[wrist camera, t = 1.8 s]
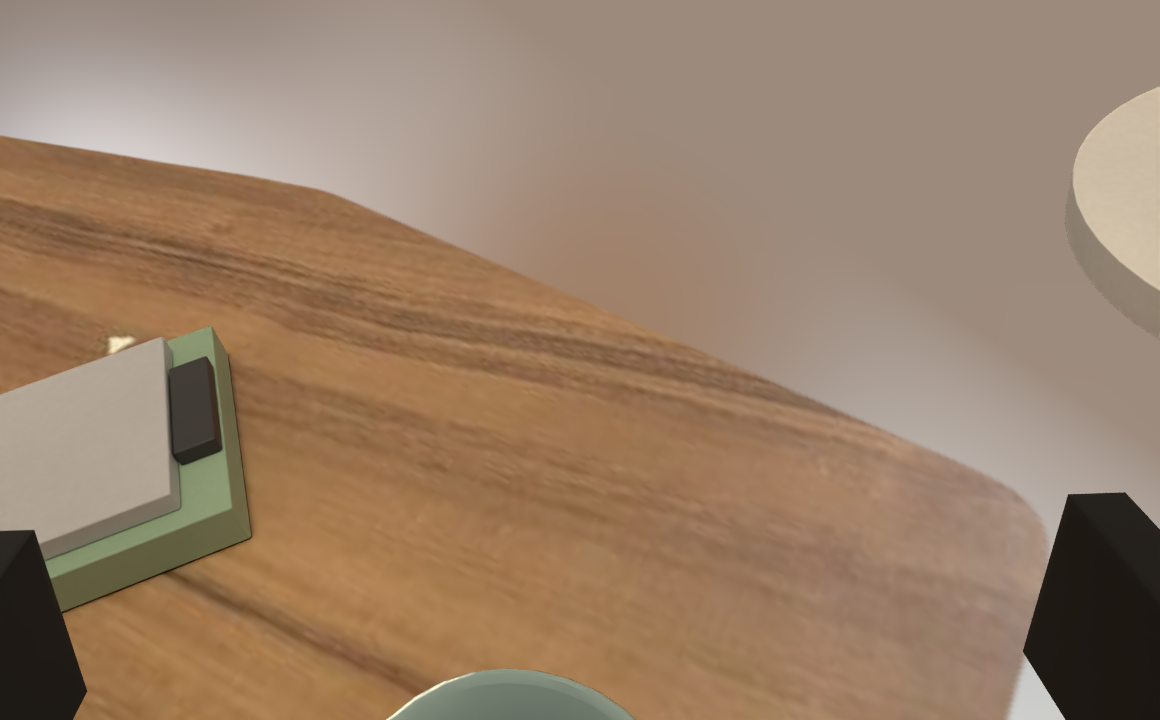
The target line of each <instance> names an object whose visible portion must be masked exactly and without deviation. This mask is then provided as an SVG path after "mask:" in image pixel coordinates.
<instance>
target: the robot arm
mask: <svg viewBox="0 0 1160 720" xmlns="http://www.w3.org/2000/svg"><path fill="white" fill-rule="evenodd" d="M1023 652H1024V654H1025V656H1026V657H1027V659H1028V660H1029V662H1030V664H1031V665H1032V667H1033V668H1034V670H1035V672H1036V673H1037V675H1038V676H1039V678H1040V680H1041V681H1042V683H1043V684H1044V686H1045V688H1046V689H1047V691H1048V692H1049V694H1050V695H1051V697H1052V699H1053V700H1054V702H1055V703H1056V705H1057V707H1058V708H1059V710H1060V712H1061V713H1062V715H1063V716H1064V718H1065V720H1160V529H1159V528H1158V527H1157V526H1156V525H1155V524H1154V523H1153V522H1152V521H1151V520H1150V519H1149V517H1148V516H1147V515H1146V514H1145V513H1144V512H1143V511H1142V510H1141V509H1140V508H1139V507H1138V506H1137V505H1136V504H1135V502H1134V501H1133V500H1132V499H1131V498H1130V497H1129V496H1128V495H1127V494H1126V493H1097V494H1069V495H1068V497H1067V500H1066V504H1065V508H1064V511H1063V515H1062V518H1061V521H1060V525H1059V528H1058V532H1057V535H1056V538H1055V542H1054V545H1053V549H1052V552H1051V556H1050V559H1049V563H1048V566H1047V570H1046V573H1045V577H1044V580H1043V583H1042V587H1041V590H1040V594H1039V597H1038V601H1037V604H1036V608H1035V611H1034V615H1033V618H1032V622H1031V625H1030V628H1029V632H1028V635H1027V639H1026V642H1025V646H1024V649H1023ZM86 692H87V689H86V686H85V683H84V680H83V677H82V674H81V671H80V668H79V665H78V662H77V659H76V656H75V653H74V650H73V646H72V643H71V640H70V637H69V634H68V631H67V628H66V625H65V622H64V619H63V616H62V613H61V610H60V607H59V604H58V601H57V598H56V594H55V591H54V588H53V585H52V582H51V579H50V576H49V573H48V570H47V567H46V564H45V561H44V558H43V555H42V552H41V549H40V546H39V543H38V539H37V536H36V533H35V530H11V531H0V720H73V718H74V716H75V714H76V712H77V710H78V708H79V706H80V704H81V702H82V700H83V698H84V696H85V694H86Z"/></svg>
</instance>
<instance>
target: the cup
mask: <svg viewBox="0 0 1160 720" xmlns="http://www.w3.org/2000/svg"><path fill="white" fill-rule="evenodd" d="M387 720H636V719H635V718H634V717H633V716H632V715H631V714H630V713H629V712H628V711H627V710H626V709H624V708H623V707H621V706H620V705H618V704H617V703H616V702H614V701H613V700H611V699H610V698H608V697H607V696H605V695H604V694H602V693H601V692H599V691H597V690H595V689H593V688H590V687H588V686H586V685H583V684H581V683H579V682H577V681H574V680H572V679H570V678H566V677H562V676H558V675H554V674H550V673H546V672H542V671H537V670H524V669H510V668H504V669H495V670H485V671H476V672H472V673H469V674H465V675H462V676H459V677H456V678H452V679H449V680H446V681H443V682H441V683H439V684H438V685H436V686H434V687H432V688H430V689H428V690H427V691H425V692H423V693H421V694H419V695H417V696H416V697H414V698H413V699H412V700H410V701H409V702H408V703H407V704H405V705H404V706H403V707H402V708H400V709H399V710H398V711H397V712H395V713H394V714H393V715H392V716H390V717H389V718H388V719H387Z"/></svg>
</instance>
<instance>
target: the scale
mask: <svg viewBox="0 0 1160 720" xmlns="http://www.w3.org/2000/svg"><path fill="white" fill-rule="evenodd" d="M11 530H35V533H36V536H37V539H38V543H39V546H40V549H41V552H42V555H43V558H44V561H45V564H46V567H47V570H48V573H49V576H50V579H51V582H52V585H53V588H54V591H55V594H56V598H57V601H58V604H59V607H60V610H61V612H63V611H66V610H68V609H71V608H73V607H76V606H78V605H81V604H83V603H86V602H88V601H91V600H93V599H96V598H99V597H101V596H104V595H106V594H109V593H111V592H114V591H116V590H119V589H121V588H124V587H126V586H129V585H131V584H134V583H137V582H139V581H142V580H144V579H147V578H149V577H152V576H154V575H157V574H159V573H162V572H164V571H167V570H170V569H172V568H175V567H177V566H180V565H182V564H185V563H187V562H190V561H192V560H195V559H197V558H200V557H203V556H205V555H208V554H210V553H213V552H215V551H218V550H220V549H223V548H225V547H228V546H230V545H233V544H235V543H238V542H241V541H243V540H246V539H248V538H250V537H251V531H250V523H249V515H248V508H247V500H246V492H245V485H244V477H243V469H242V462H241V454H240V446H239V438H238V431H237V423H236V415H235V408H234V400H233V392H232V385H231V377H230V369H229V361H228V354H227V352H226V350H225V349H224V347H223V345H222V343H221V342H220V340H219V338H218V336H217V335H216V333H215V331H214V329H213V328H212V326H208V327H205V328H203V329H200V330H197V331H194V332H191V333H189V334H186V335H183V336H180V337H178V338H175V339H172V340H169V341H165V339H164V338H163V337H159V338H156V339H153V340H151V341H148V342H145V343H142V344H140V345H137V346H134V347H131V348H128V349H126V350H123V351H120V352H117V353H114V354H112V355H109V356H106V357H103V358H100V359H98V360H95V361H92V362H89V363H87V364H84V365H81V366H78V367H75V368H73V369H70V370H67V371H64V372H61V373H59V374H56V375H53V376H50V377H48V378H45V379H42V380H39V381H36V382H34V383H31V384H28V385H25V386H22V387H20V388H17V389H14V390H11V391H9V392H6V393H3V394H0V531H11Z"/></svg>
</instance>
